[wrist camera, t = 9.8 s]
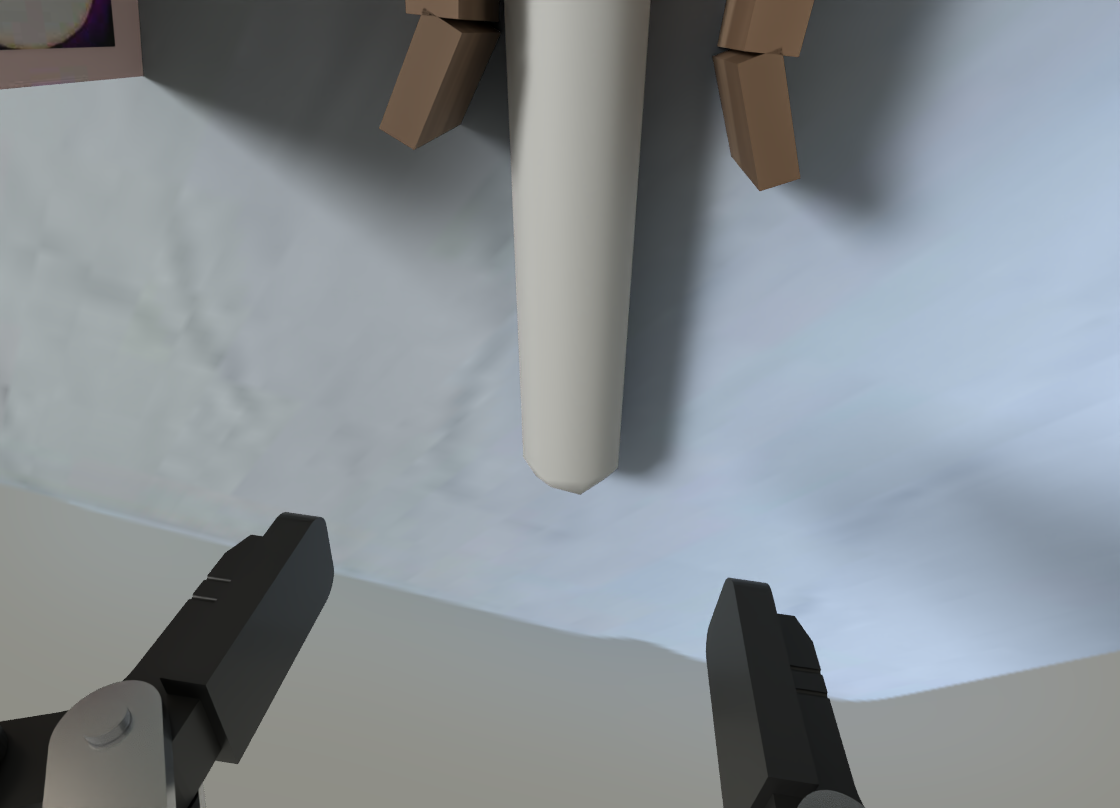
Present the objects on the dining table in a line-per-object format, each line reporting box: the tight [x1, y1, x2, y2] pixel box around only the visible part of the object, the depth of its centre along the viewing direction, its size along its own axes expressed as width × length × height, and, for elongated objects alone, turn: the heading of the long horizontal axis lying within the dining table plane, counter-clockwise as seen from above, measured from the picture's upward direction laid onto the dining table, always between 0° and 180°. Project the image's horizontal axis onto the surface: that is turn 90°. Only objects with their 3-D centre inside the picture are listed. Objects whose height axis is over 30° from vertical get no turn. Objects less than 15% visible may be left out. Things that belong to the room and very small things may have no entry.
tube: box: [504, 0, 651, 495], centre depth 23 cm, size 5×5×25 cm
